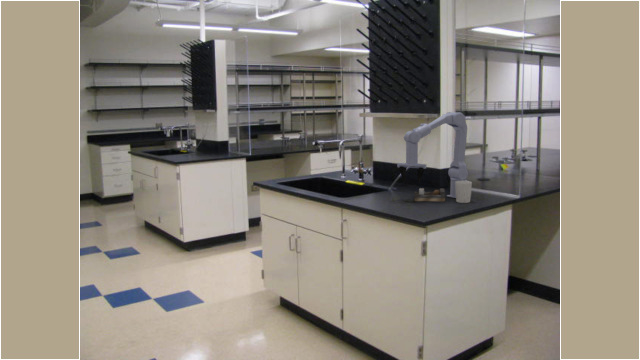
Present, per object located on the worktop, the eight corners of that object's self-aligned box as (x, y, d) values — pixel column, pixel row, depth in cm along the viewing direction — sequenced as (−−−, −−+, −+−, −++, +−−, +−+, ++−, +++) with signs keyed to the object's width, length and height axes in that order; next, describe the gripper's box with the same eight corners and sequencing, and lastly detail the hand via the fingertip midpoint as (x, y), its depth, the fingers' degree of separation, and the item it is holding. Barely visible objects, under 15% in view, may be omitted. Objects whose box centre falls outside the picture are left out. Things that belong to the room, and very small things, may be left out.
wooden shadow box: (414, 201, 258) (414, 191, 257) (414, 197, 267) (414, 188, 266) (445, 201, 255) (445, 191, 255) (444, 198, 264) (444, 188, 263)
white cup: (473, 201, 255) (473, 181, 254) (469, 203, 248) (469, 183, 247) (457, 199, 259) (457, 180, 258) (453, 202, 252) (453, 182, 251)
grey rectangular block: (419, 196, 259) (419, 190, 258) (419, 194, 265) (419, 188, 264) (424, 196, 259) (424, 190, 258) (423, 194, 264) (423, 188, 264)
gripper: (395, 155, 255) (395, 182, 257) (423, 156, 248) (423, 184, 250) (400, 154, 261) (400, 180, 263) (427, 155, 254) (427, 182, 256)
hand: (411, 182), depth 257 cm, fingers open, 7 cm apart
